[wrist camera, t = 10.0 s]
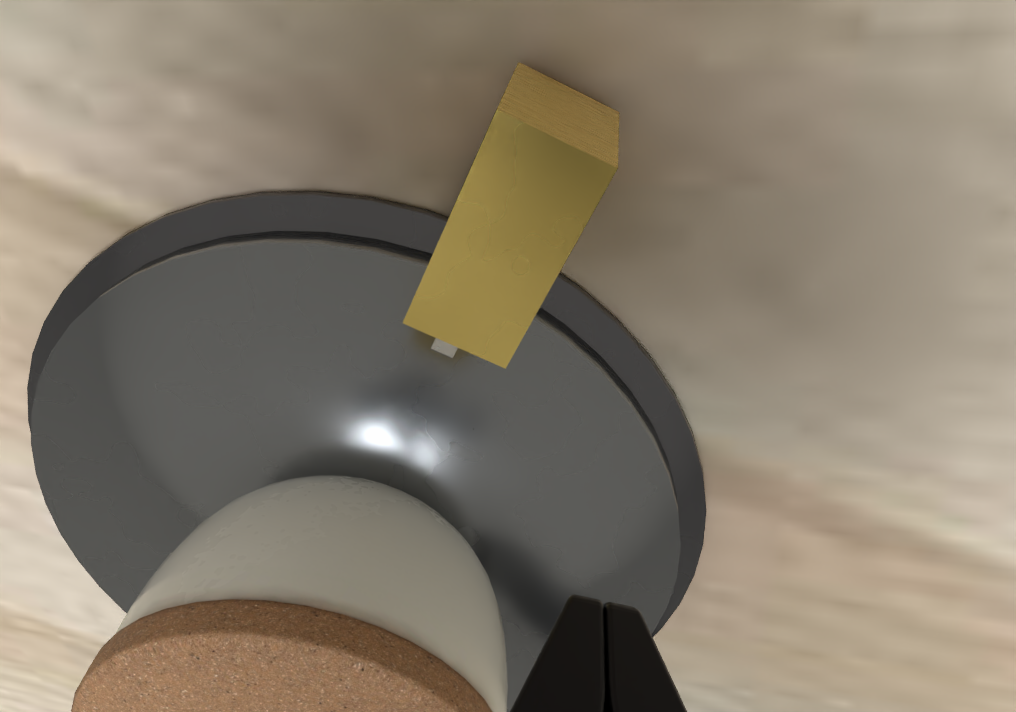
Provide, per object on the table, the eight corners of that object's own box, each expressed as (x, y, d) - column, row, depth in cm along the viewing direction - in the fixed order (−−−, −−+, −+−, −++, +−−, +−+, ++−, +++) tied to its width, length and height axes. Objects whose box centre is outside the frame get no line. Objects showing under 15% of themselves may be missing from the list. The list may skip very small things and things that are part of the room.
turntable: (513, 766, 32) (502, 856, 29) (24, 585, 29) (-40, 665, 26) (957, 281, 18) (1018, 364, 15) (114, -141, 16) (1, -134, 13)
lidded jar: (135, 443, 24) (-78, 734, 17) (464, 378, 22) (395, 682, 14) (285, 657, 30) (179, 950, 22) (561, 624, 27) (551, 940, 20)
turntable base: (777, 664, 27) (778, 672, 27) (265, 733, 34) (262, 740, 34) (556, 58, 17) (555, 62, 17) (-113, 326, 24) (-121, 331, 24)
